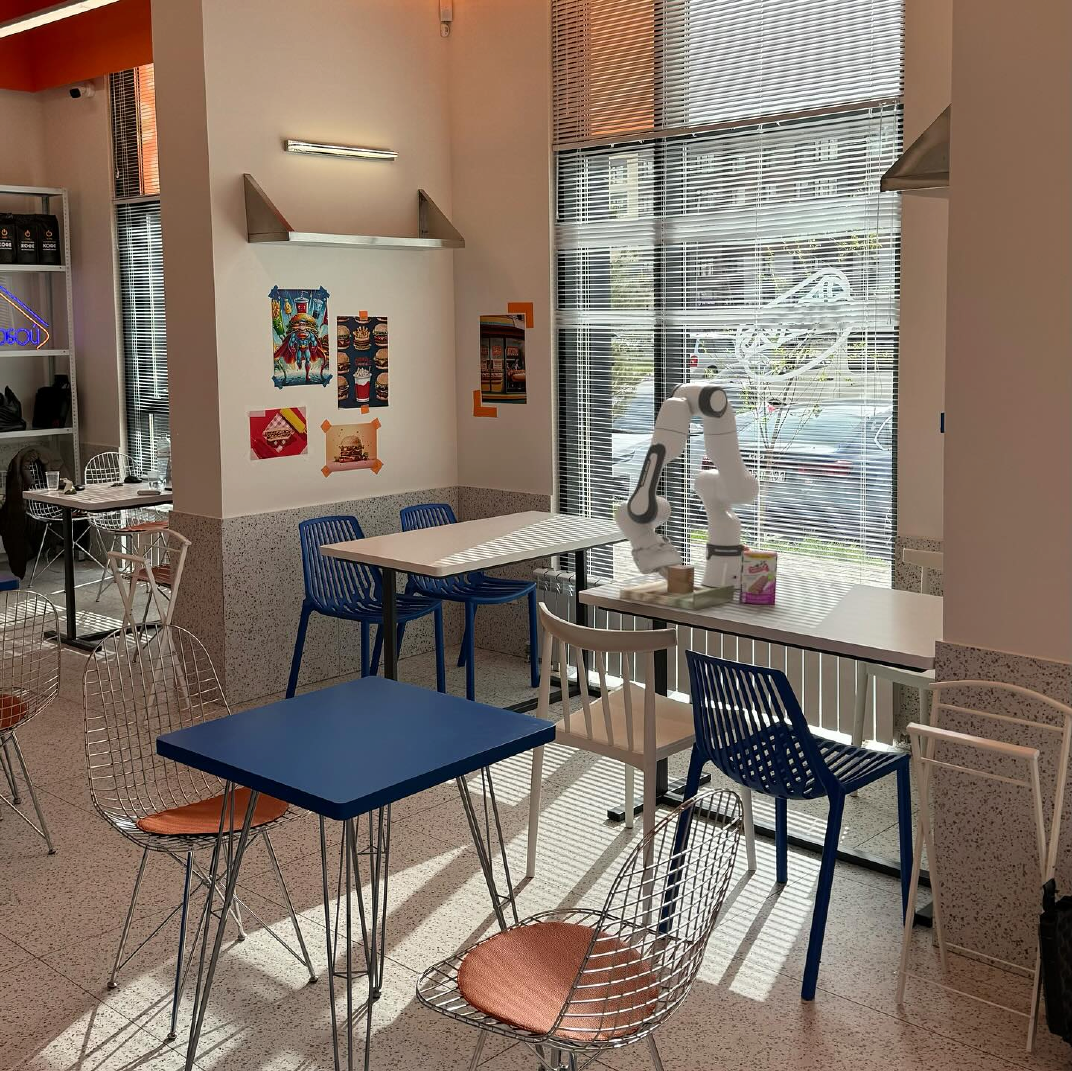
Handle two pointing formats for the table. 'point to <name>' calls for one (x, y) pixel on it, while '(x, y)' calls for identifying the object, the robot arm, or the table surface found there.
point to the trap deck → (679, 595)
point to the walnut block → (680, 579)
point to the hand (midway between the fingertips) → (672, 579)
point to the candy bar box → (758, 577)
